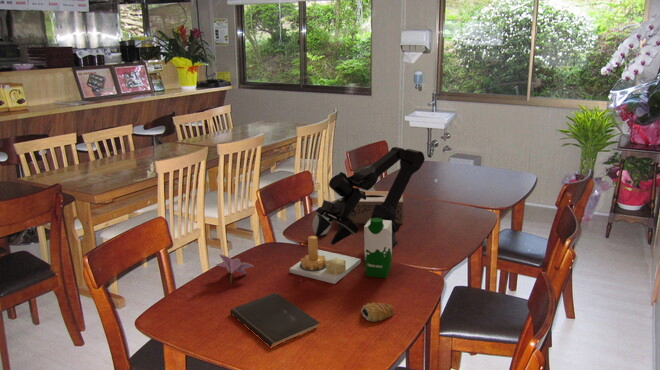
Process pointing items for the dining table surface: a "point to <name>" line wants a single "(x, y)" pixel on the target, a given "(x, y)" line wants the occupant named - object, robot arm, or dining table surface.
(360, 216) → the tissue box cover
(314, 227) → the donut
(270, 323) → the hardcover book
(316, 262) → the planet gear
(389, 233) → the milk carton
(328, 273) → the carrier plate
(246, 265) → the lily
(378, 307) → the pastry
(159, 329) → the dining table surface
